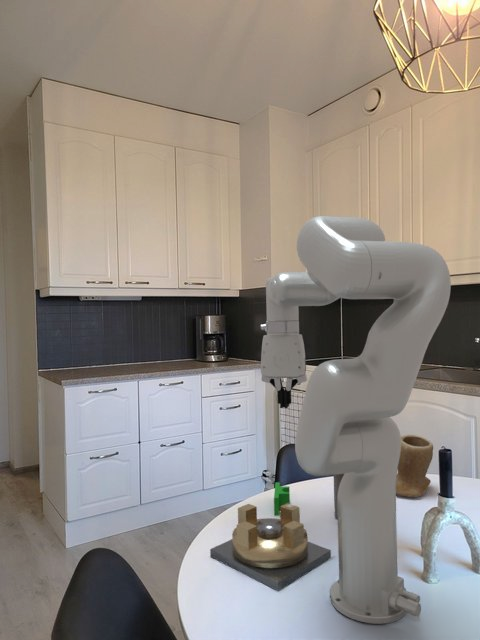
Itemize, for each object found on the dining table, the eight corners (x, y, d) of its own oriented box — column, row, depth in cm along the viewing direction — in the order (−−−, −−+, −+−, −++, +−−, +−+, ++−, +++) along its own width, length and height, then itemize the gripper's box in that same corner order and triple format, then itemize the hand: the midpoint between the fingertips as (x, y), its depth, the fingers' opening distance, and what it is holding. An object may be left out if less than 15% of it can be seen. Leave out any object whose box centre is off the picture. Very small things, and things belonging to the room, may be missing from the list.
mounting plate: (330, 557, 94) (330, 549, 94) (278, 591, 83) (277, 581, 83) (264, 530, 107) (263, 523, 107) (210, 556, 96) (210, 548, 96)
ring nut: (323, 548, 95) (322, 514, 95) (272, 577, 84) (271, 538, 84) (268, 526, 106) (267, 495, 106) (217, 549, 95) (216, 515, 95)
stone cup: (428, 504, 120) (426, 445, 121) (381, 495, 127) (380, 439, 127) (441, 486, 133) (440, 432, 133) (398, 479, 140) (397, 428, 140)
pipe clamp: (289, 517, 115) (289, 498, 115) (274, 516, 115) (273, 497, 115) (289, 499, 126) (289, 482, 126) (275, 499, 127) (275, 481, 127)
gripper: (248, 329, 110) (249, 409, 110) (312, 328, 106) (314, 410, 106) (255, 329, 117) (257, 403, 117) (316, 328, 113) (318, 405, 113)
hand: (284, 406), depth 111 cm, fingers closed
